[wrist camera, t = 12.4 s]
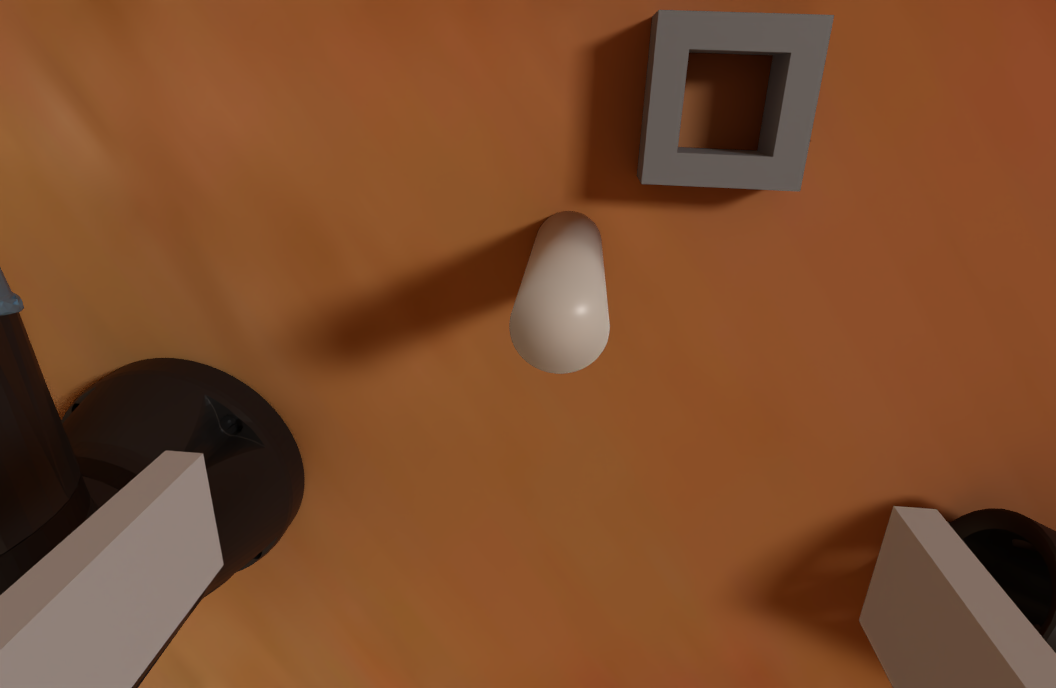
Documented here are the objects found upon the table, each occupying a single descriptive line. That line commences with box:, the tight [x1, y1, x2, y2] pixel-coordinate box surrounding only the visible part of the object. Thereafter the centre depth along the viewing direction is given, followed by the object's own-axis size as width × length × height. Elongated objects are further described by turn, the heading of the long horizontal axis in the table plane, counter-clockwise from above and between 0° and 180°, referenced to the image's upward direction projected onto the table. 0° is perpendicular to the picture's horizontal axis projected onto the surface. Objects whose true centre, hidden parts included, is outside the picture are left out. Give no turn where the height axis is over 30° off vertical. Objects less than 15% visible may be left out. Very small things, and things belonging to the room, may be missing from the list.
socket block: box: [637, 10, 834, 191], centre depth 30 cm, size 7×7×3 cm
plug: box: [510, 211, 610, 374], centre depth 29 cm, size 4×4×13 cm
